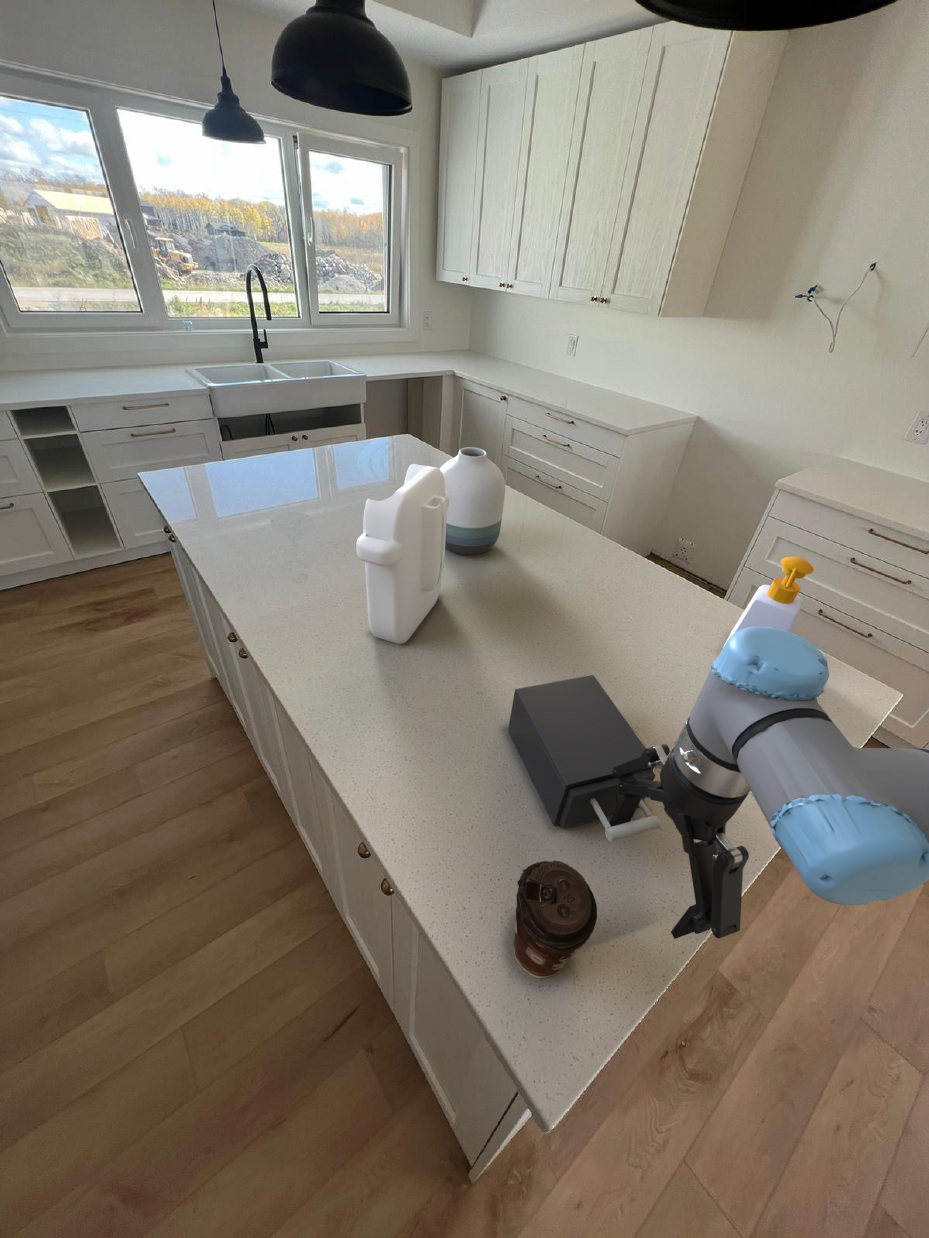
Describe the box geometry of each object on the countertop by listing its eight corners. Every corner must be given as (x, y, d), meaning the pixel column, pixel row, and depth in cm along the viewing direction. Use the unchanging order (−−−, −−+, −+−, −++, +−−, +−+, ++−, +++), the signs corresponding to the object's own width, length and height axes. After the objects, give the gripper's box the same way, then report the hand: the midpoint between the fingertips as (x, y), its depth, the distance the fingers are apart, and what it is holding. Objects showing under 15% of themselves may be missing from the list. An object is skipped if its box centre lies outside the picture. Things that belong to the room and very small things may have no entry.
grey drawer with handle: (663, 845, 69) (682, 813, 65) (582, 870, 66) (595, 837, 61) (585, 722, 86) (595, 689, 81) (517, 736, 83) (523, 703, 78)
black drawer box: (637, 803, 75) (656, 762, 70) (553, 826, 72) (566, 785, 66) (581, 714, 88) (593, 674, 83) (507, 730, 85) (515, 688, 79)
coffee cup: (486, 940, 60) (498, 887, 52) (533, 892, 64) (551, 836, 56) (543, 1008, 55) (566, 961, 47) (590, 951, 59) (618, 899, 52)
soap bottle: (713, 665, 101) (760, 569, 87) (731, 632, 110) (776, 540, 97) (764, 688, 97) (822, 591, 83) (779, 652, 106) (833, 559, 92)
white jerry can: (409, 665, 95) (410, 518, 77) (356, 648, 98) (344, 502, 80) (461, 589, 116) (471, 459, 98) (416, 577, 119) (417, 448, 100)
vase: (505, 559, 128) (518, 465, 113) (437, 562, 125) (441, 466, 110) (490, 527, 141) (499, 439, 126) (428, 529, 138) (431, 439, 123)
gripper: (611, 683, 58) (574, 793, 71) (777, 910, 39) (685, 1001, 53) (667, 672, 60) (621, 780, 73) (850, 882, 42) (744, 977, 55)
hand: (648, 873), depth 63 cm, fingers open, 13 cm apart
